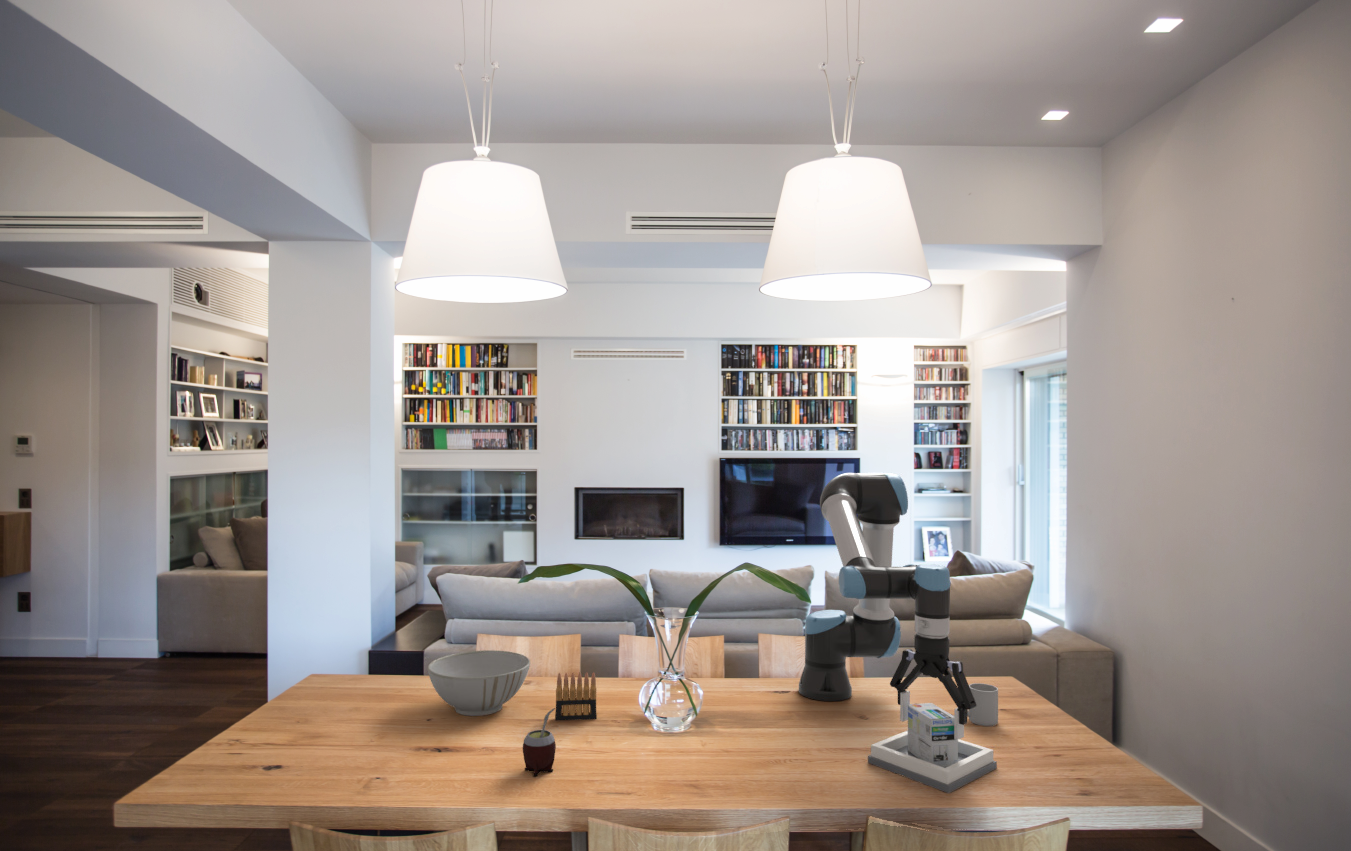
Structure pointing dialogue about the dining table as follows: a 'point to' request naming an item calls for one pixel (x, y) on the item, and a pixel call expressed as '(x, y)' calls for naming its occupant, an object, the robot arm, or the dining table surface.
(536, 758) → the mate gourd
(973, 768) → the socket dock
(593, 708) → the ammunition clip
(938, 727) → the light bulb box
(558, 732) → the dining table surface
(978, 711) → the cup
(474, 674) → the decorative bowl
